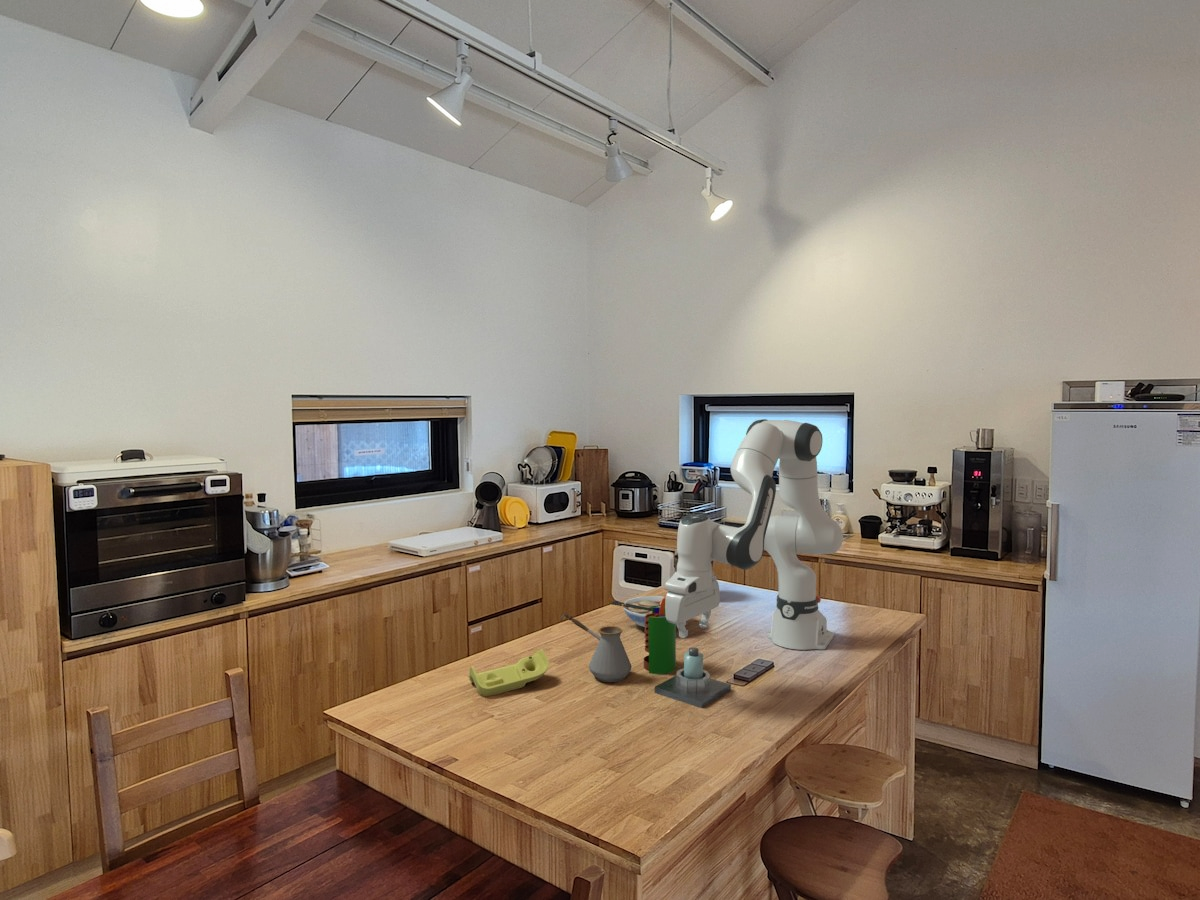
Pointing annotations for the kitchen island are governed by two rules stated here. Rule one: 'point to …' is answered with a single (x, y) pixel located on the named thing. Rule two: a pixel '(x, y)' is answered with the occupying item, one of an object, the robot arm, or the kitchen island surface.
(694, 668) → the capped teal cylinder
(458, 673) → the kitchen island surface
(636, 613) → the ramen bowl
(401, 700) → the kitchen island surface
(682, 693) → the motor mount
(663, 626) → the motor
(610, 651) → the coffee pot
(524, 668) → the plastic component
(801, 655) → the kitchen island surface
